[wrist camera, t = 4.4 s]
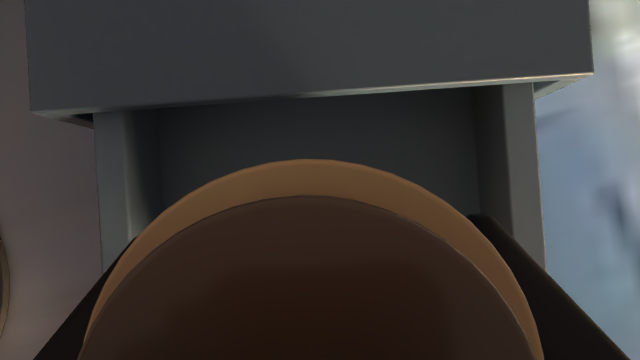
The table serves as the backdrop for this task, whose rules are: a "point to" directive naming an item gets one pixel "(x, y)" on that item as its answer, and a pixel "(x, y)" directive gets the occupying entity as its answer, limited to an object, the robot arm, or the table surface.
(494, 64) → the cabinet
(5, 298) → the coaster
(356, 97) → the drawer
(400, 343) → the pepper mill
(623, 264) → the table surface
